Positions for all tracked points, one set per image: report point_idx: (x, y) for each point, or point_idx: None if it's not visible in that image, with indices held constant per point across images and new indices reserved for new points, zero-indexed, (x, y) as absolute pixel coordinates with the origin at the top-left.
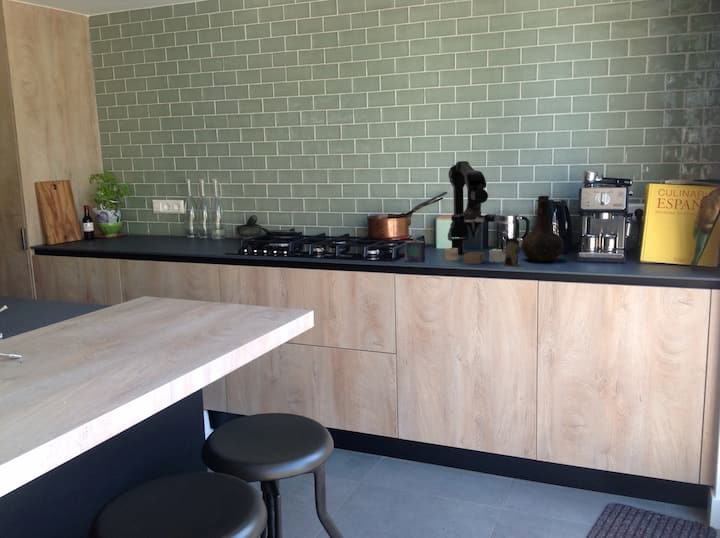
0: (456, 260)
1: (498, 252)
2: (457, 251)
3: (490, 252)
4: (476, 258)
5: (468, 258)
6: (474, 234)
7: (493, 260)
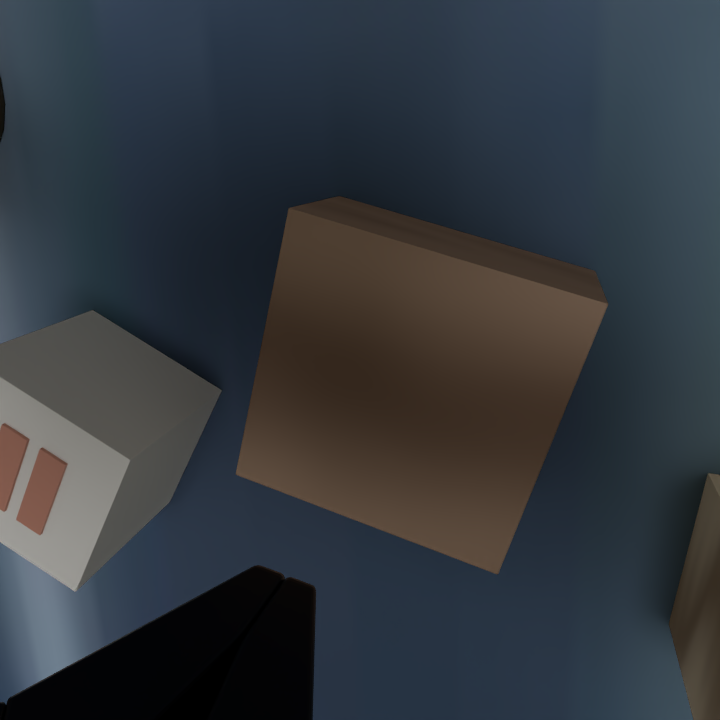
0: (710, 475)
1: (2, 360)
2: (711, 675)
3: (131, 432)
4: (361, 218)
5: (507, 259)
6: (211, 620)
7: (156, 363)
